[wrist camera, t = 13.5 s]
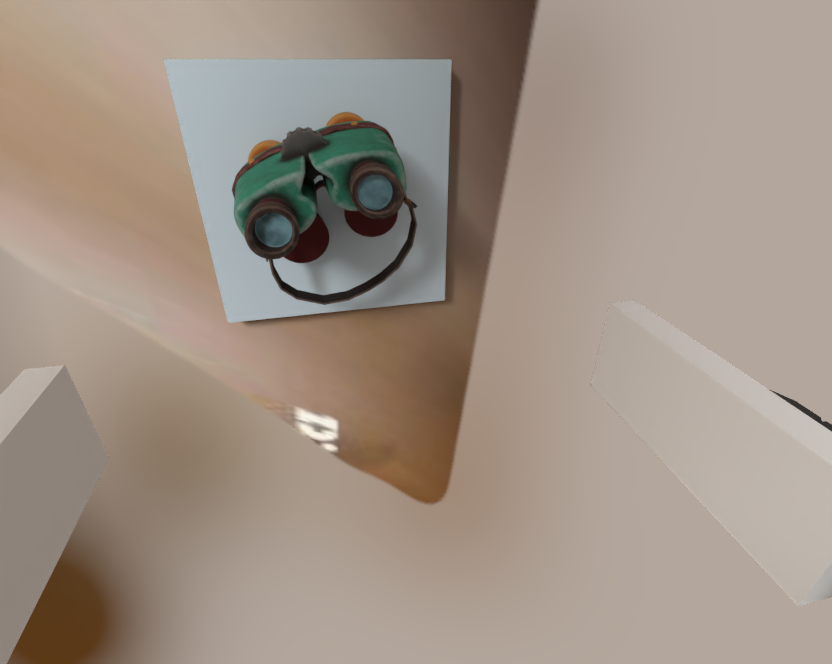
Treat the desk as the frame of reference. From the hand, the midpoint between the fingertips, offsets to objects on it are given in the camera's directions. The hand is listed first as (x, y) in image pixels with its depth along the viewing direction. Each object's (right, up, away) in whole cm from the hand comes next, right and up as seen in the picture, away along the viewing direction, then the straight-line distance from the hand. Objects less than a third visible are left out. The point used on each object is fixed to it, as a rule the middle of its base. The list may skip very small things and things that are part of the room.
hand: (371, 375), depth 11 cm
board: (-4, +10, +17) cm, 20 cm away
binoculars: (-4, +9, +16) cm, 19 cm away
